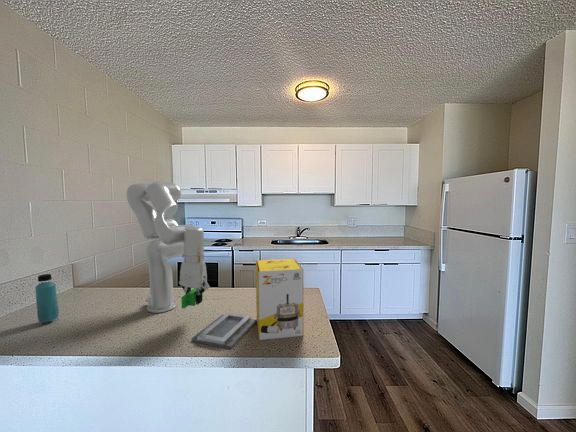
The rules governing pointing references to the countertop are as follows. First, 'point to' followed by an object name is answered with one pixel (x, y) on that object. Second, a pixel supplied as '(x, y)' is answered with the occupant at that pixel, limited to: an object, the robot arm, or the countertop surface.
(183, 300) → the pipe clamp
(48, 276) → the beverage bottle
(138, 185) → the robot arm
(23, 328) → the countertop surface
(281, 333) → the packaging box
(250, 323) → the groove block
